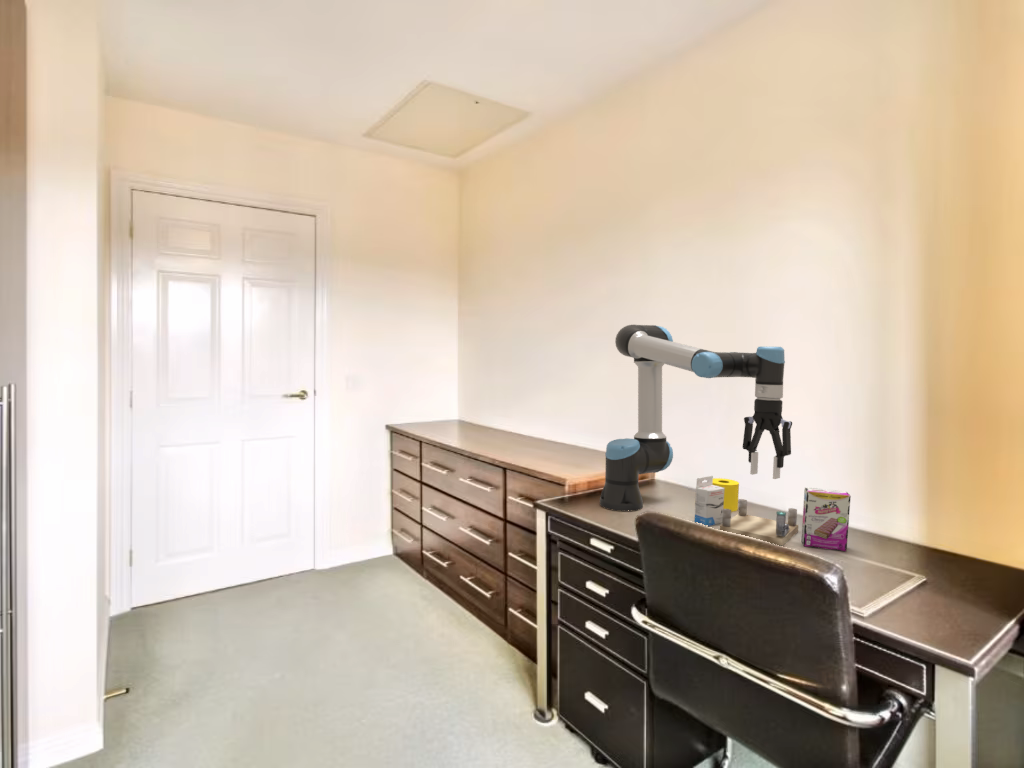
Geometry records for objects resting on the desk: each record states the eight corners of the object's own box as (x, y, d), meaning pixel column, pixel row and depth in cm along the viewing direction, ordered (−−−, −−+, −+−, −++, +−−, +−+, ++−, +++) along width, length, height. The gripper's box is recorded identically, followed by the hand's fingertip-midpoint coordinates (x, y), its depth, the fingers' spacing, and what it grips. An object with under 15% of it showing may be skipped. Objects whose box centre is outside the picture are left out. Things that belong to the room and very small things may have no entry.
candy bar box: (803, 547, 160) (806, 490, 159) (800, 541, 165) (803, 486, 164) (848, 552, 156) (851, 494, 155) (843, 546, 161) (847, 490, 160)
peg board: (719, 532, 172) (720, 509, 171) (739, 519, 186) (739, 498, 185) (782, 546, 160) (783, 522, 160) (798, 531, 174) (799, 509, 174)
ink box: (706, 527, 177) (708, 481, 176) (693, 523, 181) (695, 478, 180) (723, 522, 181) (725, 478, 180) (710, 518, 186) (712, 475, 185)
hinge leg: (781, 527, 169) (782, 505, 169) (790, 529, 168) (791, 506, 167) (774, 535, 162) (775, 512, 161) (783, 537, 160) (785, 514, 160)
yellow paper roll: (738, 513, 193) (739, 486, 192) (708, 510, 196) (709, 483, 195) (736, 505, 202) (737, 479, 202) (707, 502, 205) (708, 477, 205)
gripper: (731, 396, 170) (728, 471, 171) (795, 402, 155) (791, 484, 156) (744, 395, 174) (741, 468, 176) (807, 400, 159) (803, 480, 161)
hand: (764, 475), depth 166 cm, fingers open, 6 cm apart
